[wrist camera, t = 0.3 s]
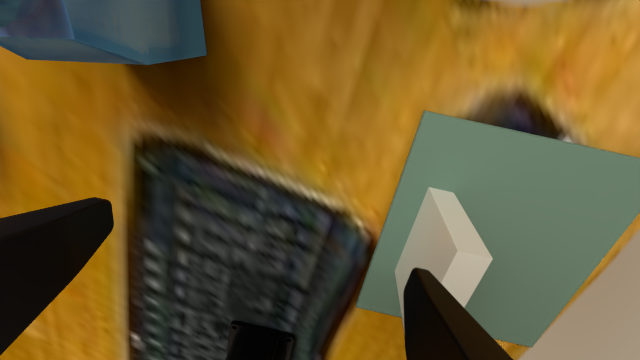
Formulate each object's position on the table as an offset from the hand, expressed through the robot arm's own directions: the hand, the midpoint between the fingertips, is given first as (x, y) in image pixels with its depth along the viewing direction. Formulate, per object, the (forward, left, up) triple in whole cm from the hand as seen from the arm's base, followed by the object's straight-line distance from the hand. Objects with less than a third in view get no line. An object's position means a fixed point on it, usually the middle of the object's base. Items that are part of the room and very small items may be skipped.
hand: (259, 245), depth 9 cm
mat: (-7, -15, -13) cm, 21 cm away
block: (-7, -10, -13) cm, 18 cm away
